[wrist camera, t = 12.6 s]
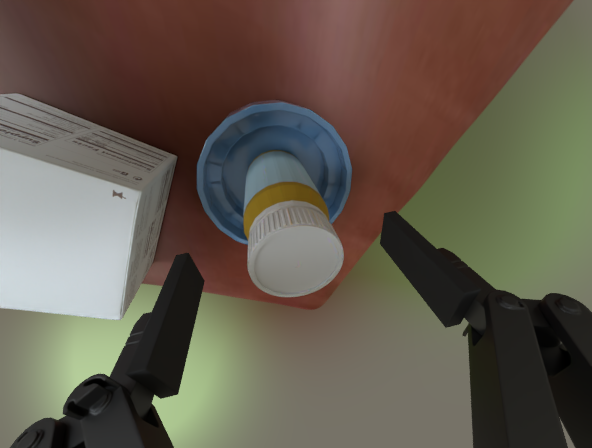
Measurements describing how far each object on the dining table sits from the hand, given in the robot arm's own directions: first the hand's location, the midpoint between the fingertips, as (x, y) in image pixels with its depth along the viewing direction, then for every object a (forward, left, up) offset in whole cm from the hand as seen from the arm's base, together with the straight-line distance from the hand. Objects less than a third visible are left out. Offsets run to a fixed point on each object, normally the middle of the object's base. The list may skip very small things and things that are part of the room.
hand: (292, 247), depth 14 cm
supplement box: (-6, -19, -15) cm, 25 cm away
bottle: (0, 0, -14) cm, 14 cm away
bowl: (0, 0, -14) cm, 14 cm away
